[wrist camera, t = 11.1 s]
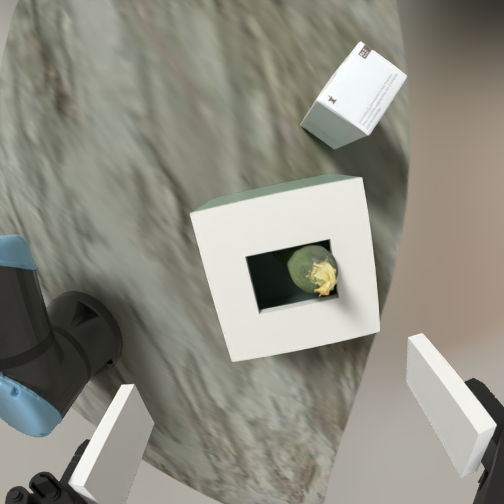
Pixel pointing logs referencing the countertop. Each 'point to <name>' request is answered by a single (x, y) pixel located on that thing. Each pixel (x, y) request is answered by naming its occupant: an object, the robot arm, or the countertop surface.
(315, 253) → the vegetable
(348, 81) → the skincare box
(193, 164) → the countertop surface
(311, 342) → the box
